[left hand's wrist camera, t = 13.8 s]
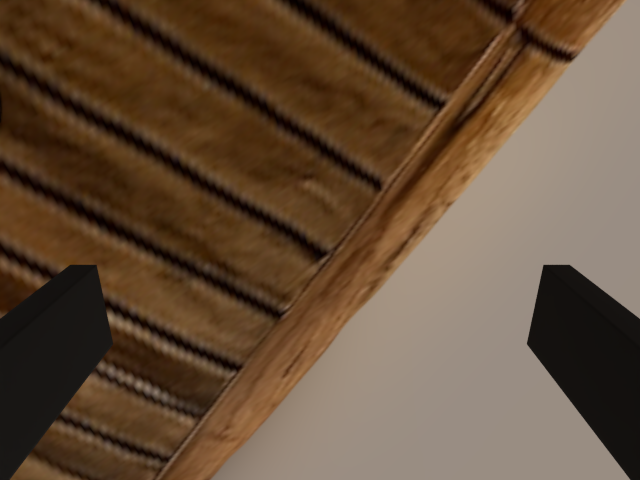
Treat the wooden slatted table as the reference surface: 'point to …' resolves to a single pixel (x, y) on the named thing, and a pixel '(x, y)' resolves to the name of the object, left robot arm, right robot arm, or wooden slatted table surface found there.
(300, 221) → the wooden slatted table surface
